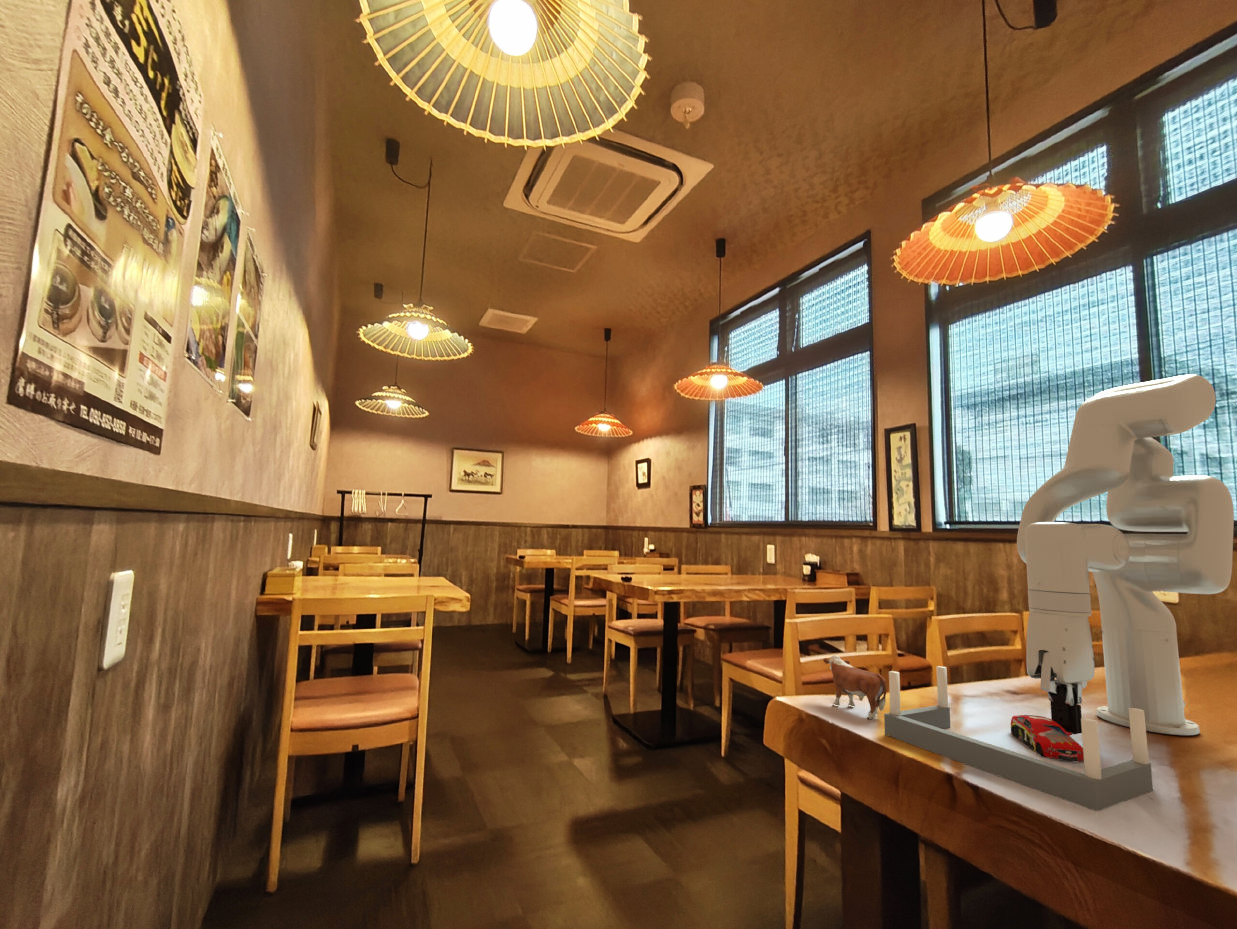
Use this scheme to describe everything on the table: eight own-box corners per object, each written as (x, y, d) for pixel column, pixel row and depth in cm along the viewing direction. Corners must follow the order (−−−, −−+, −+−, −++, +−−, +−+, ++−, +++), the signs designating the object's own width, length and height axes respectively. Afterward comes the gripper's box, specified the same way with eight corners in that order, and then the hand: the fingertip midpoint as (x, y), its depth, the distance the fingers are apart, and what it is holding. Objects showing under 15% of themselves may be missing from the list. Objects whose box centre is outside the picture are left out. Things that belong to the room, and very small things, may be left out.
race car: (1093, 770, 74) (1091, 737, 74) (1045, 764, 75) (1043, 732, 76) (1047, 737, 86) (1045, 709, 87) (1006, 732, 88) (1005, 705, 88)
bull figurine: (837, 698, 103) (836, 652, 104) (894, 721, 91) (892, 668, 92) (817, 699, 102) (816, 653, 103) (872, 723, 89) (871, 669, 90)
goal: (942, 724, 90) (939, 665, 91) (1153, 789, 67) (1146, 710, 68) (884, 734, 84) (883, 671, 85) (1096, 811, 61) (1090, 723, 62)
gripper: (1056, 600, 92) (1064, 718, 90) (1004, 601, 86) (1011, 728, 83) (1113, 606, 86) (1123, 733, 83) (1061, 607, 79) (1070, 745, 76)
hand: (1067, 730), depth 83 cm, fingers closed
